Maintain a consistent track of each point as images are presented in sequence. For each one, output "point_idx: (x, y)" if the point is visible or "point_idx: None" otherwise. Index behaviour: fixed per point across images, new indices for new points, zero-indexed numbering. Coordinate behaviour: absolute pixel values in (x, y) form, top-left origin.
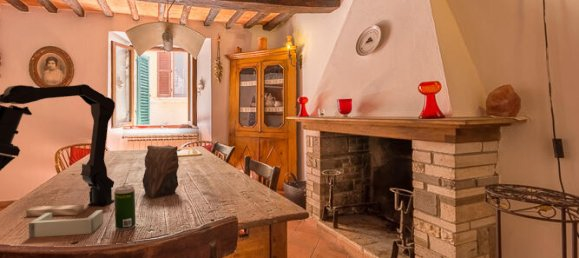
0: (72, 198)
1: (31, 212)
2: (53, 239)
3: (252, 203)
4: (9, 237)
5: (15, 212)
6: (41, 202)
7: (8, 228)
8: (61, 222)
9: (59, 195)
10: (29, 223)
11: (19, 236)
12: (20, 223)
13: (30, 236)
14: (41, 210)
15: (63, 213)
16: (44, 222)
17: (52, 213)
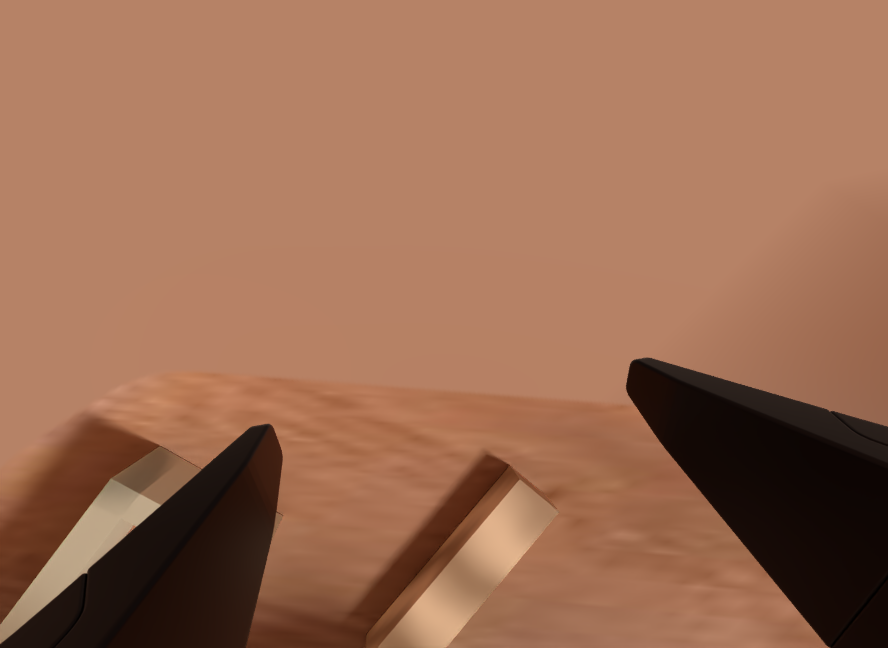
0: (660, 641)
1: (501, 490)
2: (48, 517)
3: None
4: (228, 386)
5: (604, 436)
6: (690, 531)
7: (370, 394)
8: (20, 600)
9: (753, 601)
10: (109, 480)
11: (210, 417)
12: (411, 437)
13: (155, 451)
14: (473, 529)
15: (407, 591)
16: (66, 538)
17: (440, 555)
